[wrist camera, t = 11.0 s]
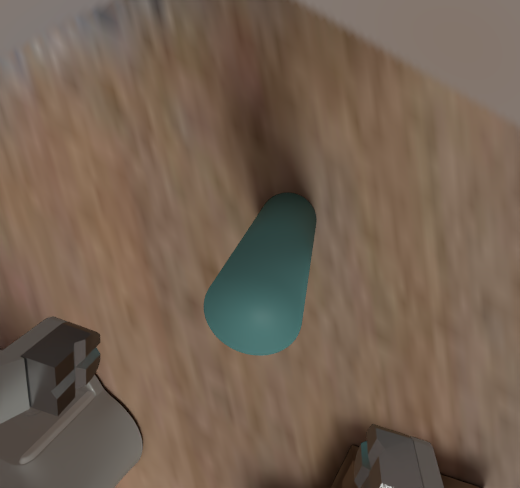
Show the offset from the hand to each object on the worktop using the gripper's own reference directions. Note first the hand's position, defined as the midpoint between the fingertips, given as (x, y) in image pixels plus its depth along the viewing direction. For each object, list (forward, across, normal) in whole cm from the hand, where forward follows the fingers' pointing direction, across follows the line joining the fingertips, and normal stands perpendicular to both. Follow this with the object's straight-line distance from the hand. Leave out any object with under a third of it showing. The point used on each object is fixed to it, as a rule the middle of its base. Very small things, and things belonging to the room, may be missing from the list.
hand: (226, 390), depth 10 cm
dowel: (+16, 0, 0) cm, 16 cm away
